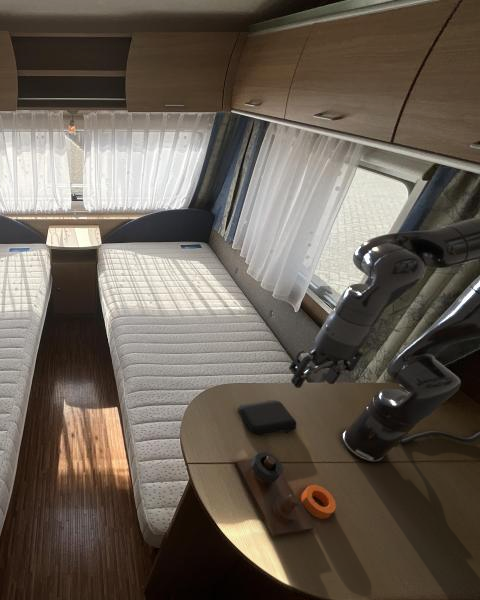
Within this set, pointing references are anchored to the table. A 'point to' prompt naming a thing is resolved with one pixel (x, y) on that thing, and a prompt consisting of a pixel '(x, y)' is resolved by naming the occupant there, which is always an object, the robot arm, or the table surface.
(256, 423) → the carrying case
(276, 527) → the tape rack
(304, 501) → the orange tape
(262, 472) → the black tape
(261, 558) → the table surface
